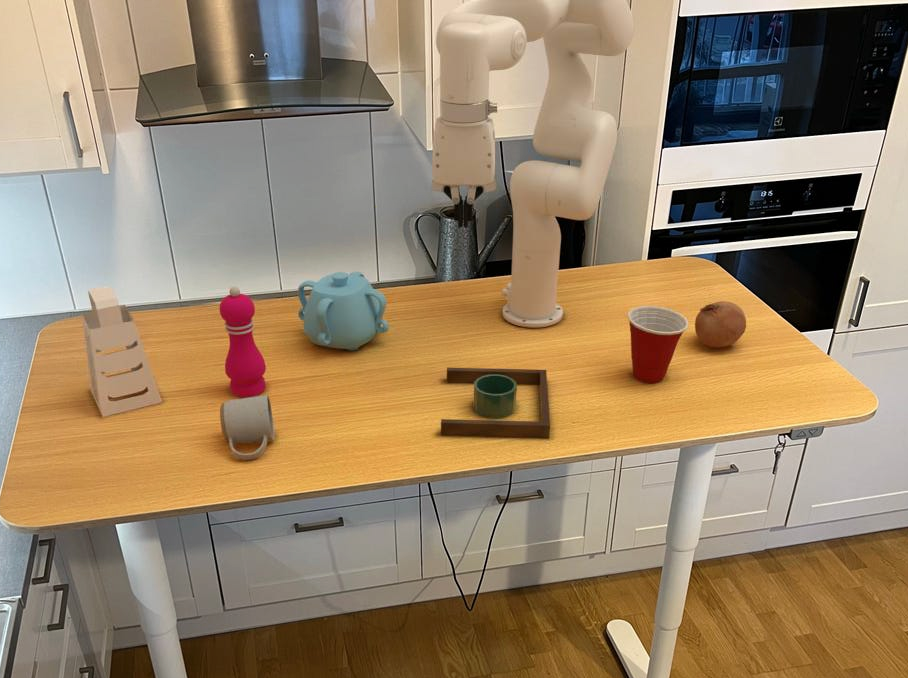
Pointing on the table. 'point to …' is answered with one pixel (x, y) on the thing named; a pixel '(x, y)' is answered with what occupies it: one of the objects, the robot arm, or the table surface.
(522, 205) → the robot arm
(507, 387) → the green cup
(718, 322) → the onion
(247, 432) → the ceramic mug
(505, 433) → the walnut bay
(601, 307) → the table surface
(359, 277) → the decorative pot
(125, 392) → the grater
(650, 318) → the plastic cup
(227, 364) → the pepper mill
